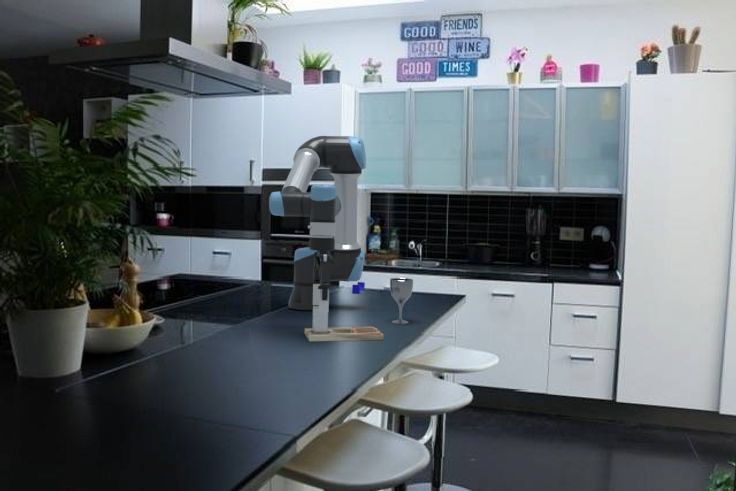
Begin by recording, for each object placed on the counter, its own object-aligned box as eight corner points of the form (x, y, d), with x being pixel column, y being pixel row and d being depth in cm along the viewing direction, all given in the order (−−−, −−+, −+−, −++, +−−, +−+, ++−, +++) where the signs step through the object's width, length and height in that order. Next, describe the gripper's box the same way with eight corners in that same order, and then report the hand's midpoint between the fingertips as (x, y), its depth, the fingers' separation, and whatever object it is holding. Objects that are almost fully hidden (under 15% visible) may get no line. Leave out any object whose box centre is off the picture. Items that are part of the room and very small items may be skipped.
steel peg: (312, 335, 188) (313, 306, 187) (325, 335, 189) (326, 306, 188) (314, 338, 184) (314, 308, 183) (327, 338, 185) (328, 308, 184)
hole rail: (304, 333, 191) (304, 327, 191) (374, 332, 196) (374, 326, 196) (309, 341, 180) (309, 335, 180) (383, 340, 184) (383, 333, 184)
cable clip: (354, 294, 284) (355, 281, 283) (364, 295, 283) (364, 282, 282) (348, 298, 272) (349, 284, 271) (358, 298, 271) (359, 285, 271)
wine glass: (414, 321, 217) (415, 278, 216) (408, 325, 210) (409, 281, 209) (392, 319, 220) (393, 277, 219) (385, 323, 212) (387, 279, 211)
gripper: (304, 235, 196) (302, 302, 197) (315, 238, 172) (313, 314, 173) (328, 236, 198) (326, 302, 199) (342, 238, 173) (340, 314, 174)
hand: (320, 308), depth 186 cm, fingers open, 13 cm apart
